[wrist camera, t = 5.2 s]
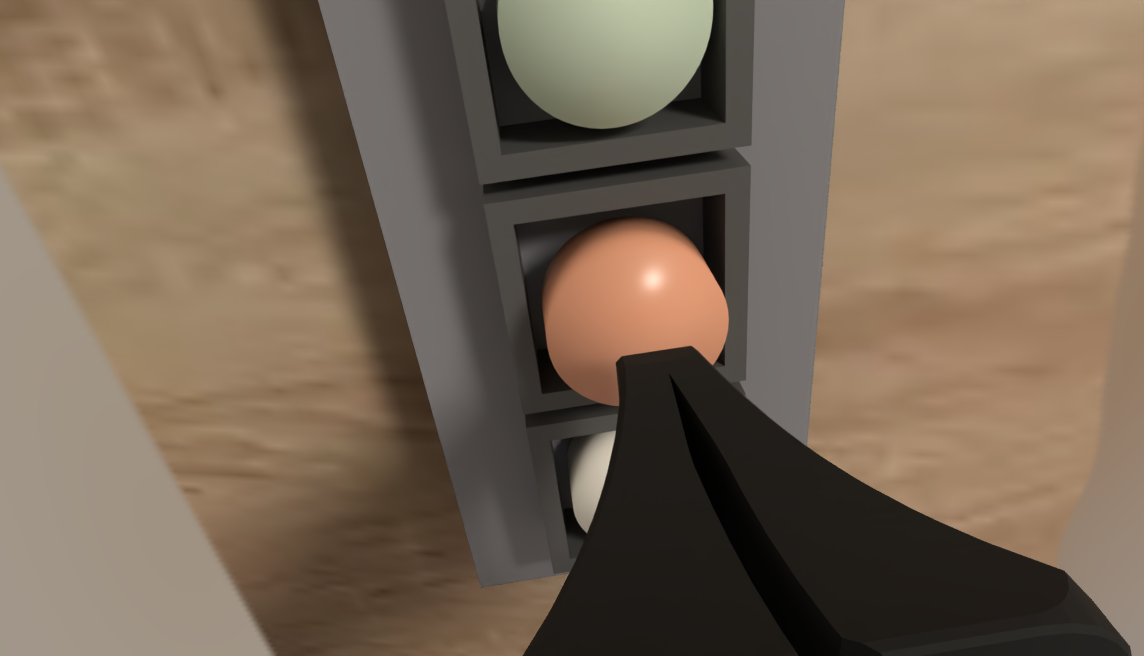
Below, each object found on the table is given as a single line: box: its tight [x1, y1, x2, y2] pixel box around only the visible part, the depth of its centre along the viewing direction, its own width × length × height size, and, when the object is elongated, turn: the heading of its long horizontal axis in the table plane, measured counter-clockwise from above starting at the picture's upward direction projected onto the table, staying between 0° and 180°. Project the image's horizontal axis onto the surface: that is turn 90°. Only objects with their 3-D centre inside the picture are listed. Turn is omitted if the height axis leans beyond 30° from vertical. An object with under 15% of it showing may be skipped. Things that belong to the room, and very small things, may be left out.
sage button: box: [496, 0, 713, 129], centre depth 13 cm, size 4×4×2 cm
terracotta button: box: [541, 216, 729, 406], centre depth 15 cm, size 4×4×2 cm
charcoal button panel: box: [318, 0, 845, 588], centre depth 17 cm, size 21×10×5 cm, turn 6°
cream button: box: [567, 431, 616, 533], centre depth 19 cm, size 4×4×2 cm
